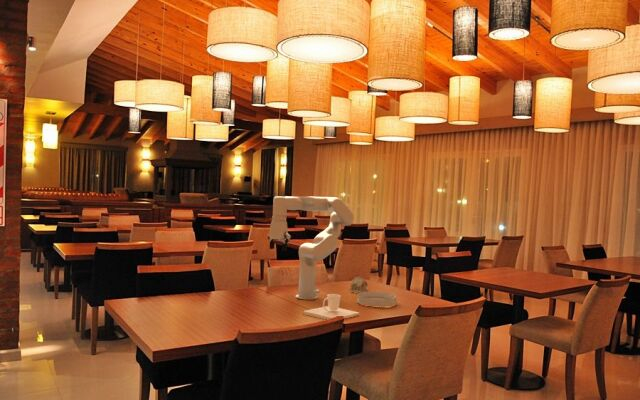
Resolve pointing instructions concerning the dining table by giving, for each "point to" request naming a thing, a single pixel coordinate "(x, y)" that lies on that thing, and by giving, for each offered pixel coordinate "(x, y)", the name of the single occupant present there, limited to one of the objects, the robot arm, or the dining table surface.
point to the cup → (332, 302)
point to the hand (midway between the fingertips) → (278, 249)
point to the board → (329, 313)
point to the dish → (376, 299)
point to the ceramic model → (358, 285)
